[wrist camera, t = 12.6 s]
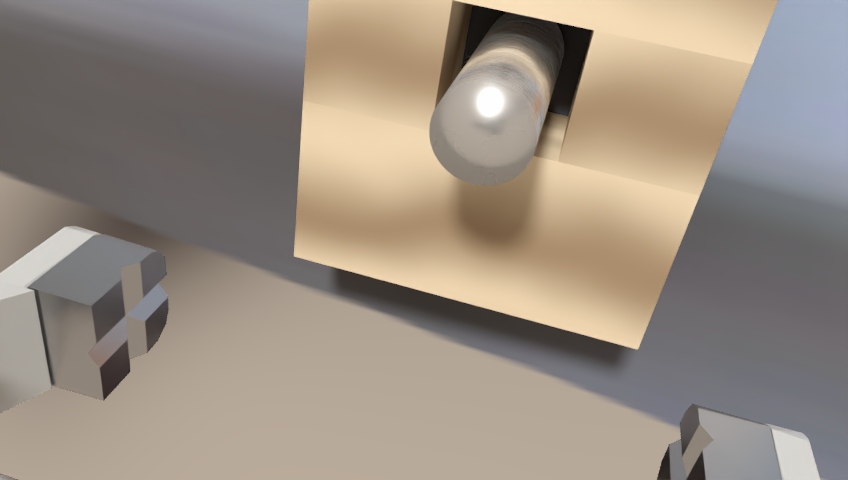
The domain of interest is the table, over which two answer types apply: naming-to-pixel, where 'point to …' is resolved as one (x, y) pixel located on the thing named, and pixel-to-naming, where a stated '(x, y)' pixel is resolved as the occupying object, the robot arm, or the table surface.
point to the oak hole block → (543, 177)
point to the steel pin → (498, 102)
